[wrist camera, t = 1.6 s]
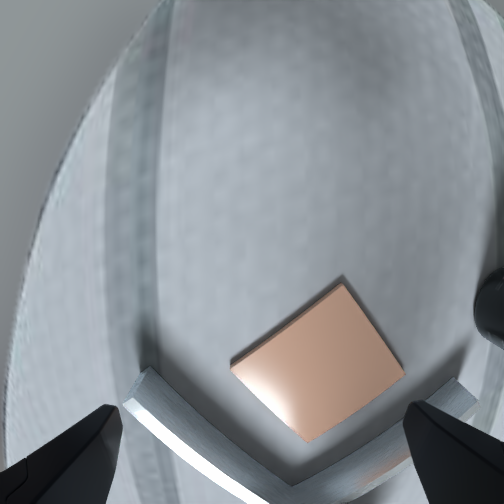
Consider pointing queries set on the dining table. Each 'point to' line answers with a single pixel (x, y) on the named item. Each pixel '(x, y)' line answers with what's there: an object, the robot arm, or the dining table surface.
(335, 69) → the dining table surface
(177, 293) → the dining table surface
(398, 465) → the corner walls
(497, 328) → the supplement bottle
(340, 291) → the terracotta tile
